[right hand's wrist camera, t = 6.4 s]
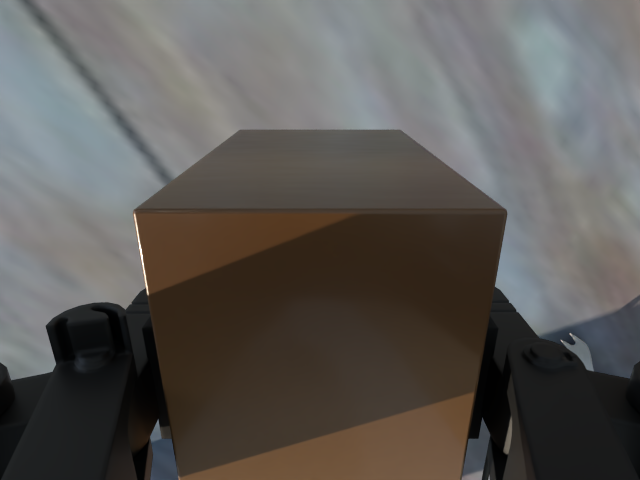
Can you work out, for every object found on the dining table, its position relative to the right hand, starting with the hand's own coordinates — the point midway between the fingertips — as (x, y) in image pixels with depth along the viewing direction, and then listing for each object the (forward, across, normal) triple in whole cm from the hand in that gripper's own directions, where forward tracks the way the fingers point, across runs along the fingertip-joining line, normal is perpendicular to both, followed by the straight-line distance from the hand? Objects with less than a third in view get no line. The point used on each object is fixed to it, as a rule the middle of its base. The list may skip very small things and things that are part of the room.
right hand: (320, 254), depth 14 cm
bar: (+1, 0, -7) cm, 7 cm away
